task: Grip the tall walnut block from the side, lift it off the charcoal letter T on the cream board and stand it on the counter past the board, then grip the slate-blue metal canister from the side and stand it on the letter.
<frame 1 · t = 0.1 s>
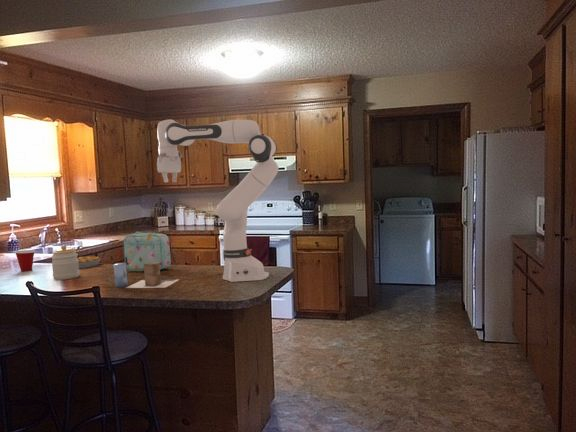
hand: (170, 182, 229), 48 cm above the countertop, tool pointing down, fingers open, 8 cm apart
pie: (81, 266, 286), on the countertop
jar: (66, 277, 252), on the countertop
canister: (121, 286, 221), on the countertop
walnut block: (153, 284, 221), resting on letter board
plastic cup: (27, 270, 280), on the countertop
lunch box: (147, 270, 261), on the countertop
letter board: (153, 284, 223), on the countertop
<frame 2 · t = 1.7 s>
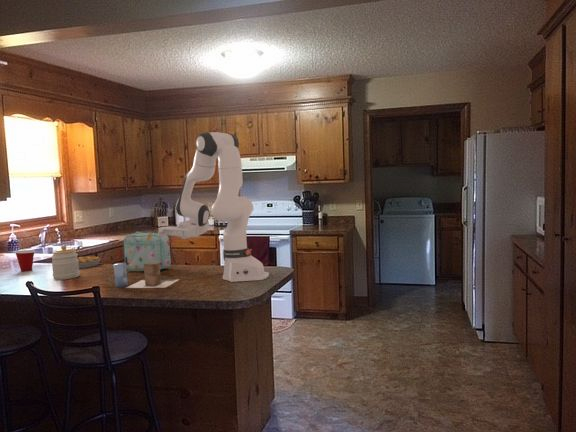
hand: (166, 233, 228), 23 cm above the countertop, tool horizontal, fingers open, 8 cm apart
nothing on the countertop moved.
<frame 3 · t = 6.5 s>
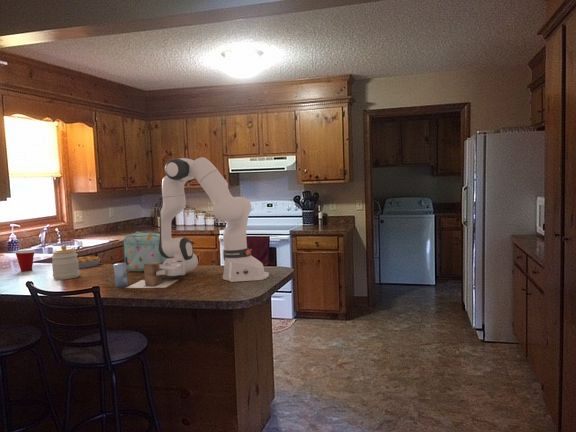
hand: (150, 273, 219), 6 cm above the countertop, tool horizontal, fingers closed on walnut block, 5 cm apart
walnut block: (153, 284, 221), resting on letter board, touching gripper
everything else where it was.
when the fingers open (6 cm above the countertop, at t = 11.8 s): walnut block stays where it is, on the countertop.
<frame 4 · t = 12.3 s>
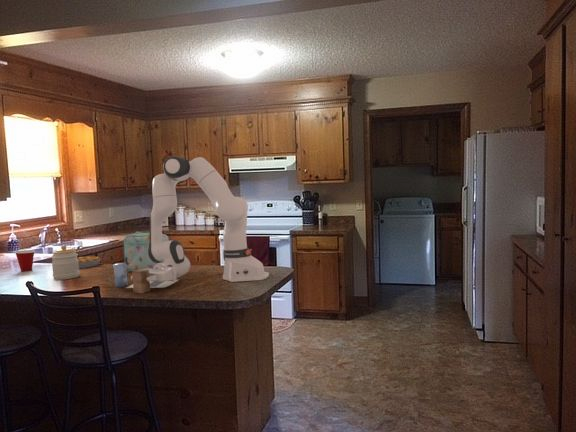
hand: (139, 278, 206), 6 cm above the countertop, tool horizontal, fingers open, 8 cm apart
walnut block: (142, 292, 208), on the countertop
everything else where it was.
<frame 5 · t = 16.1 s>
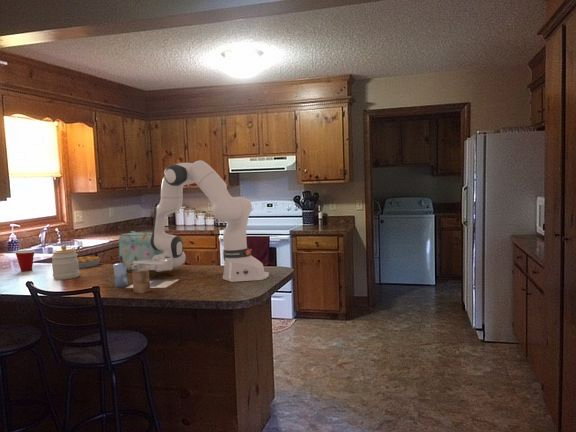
hand: (139, 268, 231), 7 cm above the countertop, tool horizontal, fingers open, 8 cm apart
lunch box: (142, 269, 264), on the countertop, touching arm
everything else where it was.
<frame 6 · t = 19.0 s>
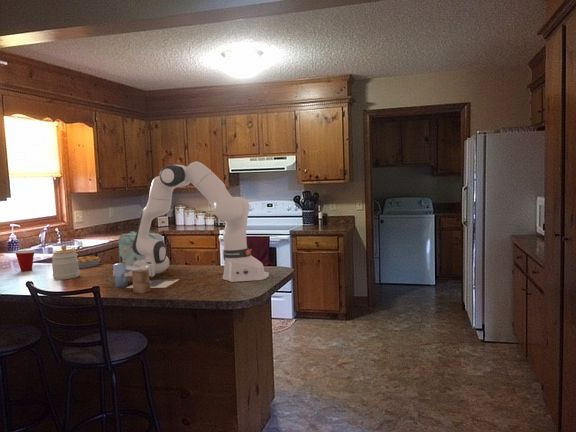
hand: (119, 274, 220), 6 cm above the countertop, tool horizontal, fingers closed on canister, 5 cm apart
canister: (121, 286, 221), on the countertop, touching gripper
lunch box: (142, 269, 264), on the countertop
everything else where it was.
when the fingers open (7 cm above the countertop, at t = 25.0 s): canister stays where it is, resting on letter board.
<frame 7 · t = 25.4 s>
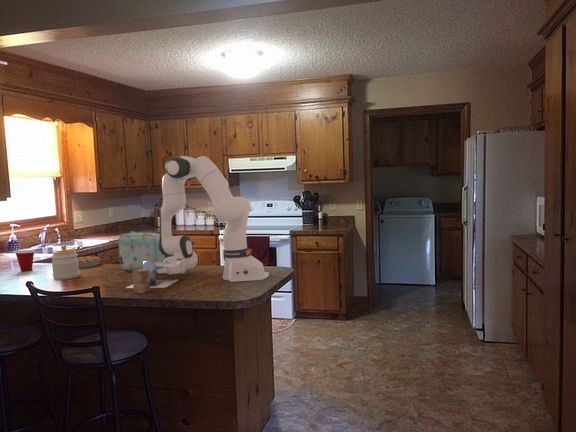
hand: (150, 271, 219), 7 cm above the countertop, tool horizontal, fingers open, 8 cm apart
canister: (149, 284, 221), point 1 cm above the countertop, touching gripper, letter board
everything else where it was.
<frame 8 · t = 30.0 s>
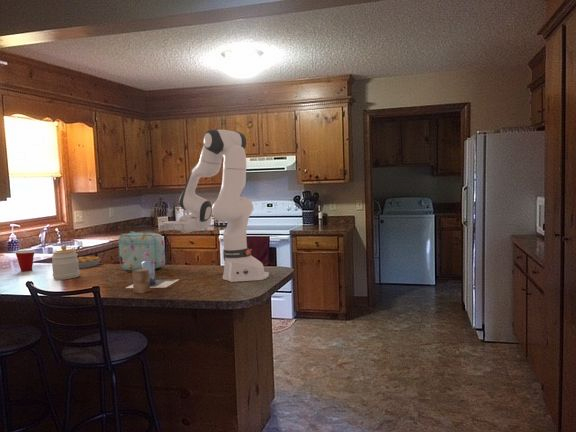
hand: (166, 227, 228), 26 cm above the countertop, tool horizontal, fingers open, 8 cm apart
canister: (149, 284, 221), resting on letter board
everything else where it was.
at the end: canister 1.9 cm from the target spot, resting on letter board; canister tilted 0°; walnut block moved 13.0 cm from its start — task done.
